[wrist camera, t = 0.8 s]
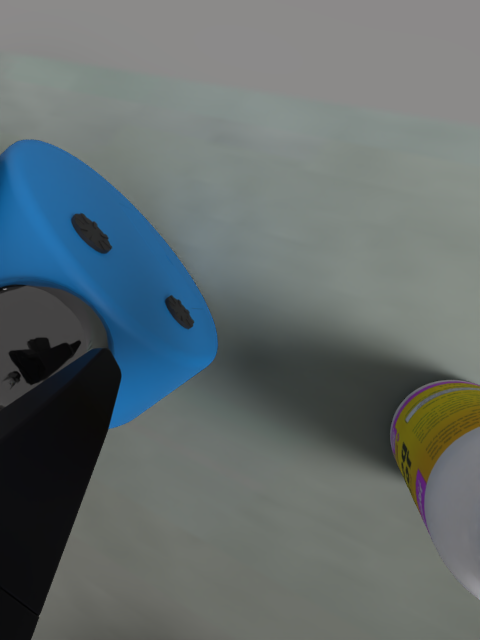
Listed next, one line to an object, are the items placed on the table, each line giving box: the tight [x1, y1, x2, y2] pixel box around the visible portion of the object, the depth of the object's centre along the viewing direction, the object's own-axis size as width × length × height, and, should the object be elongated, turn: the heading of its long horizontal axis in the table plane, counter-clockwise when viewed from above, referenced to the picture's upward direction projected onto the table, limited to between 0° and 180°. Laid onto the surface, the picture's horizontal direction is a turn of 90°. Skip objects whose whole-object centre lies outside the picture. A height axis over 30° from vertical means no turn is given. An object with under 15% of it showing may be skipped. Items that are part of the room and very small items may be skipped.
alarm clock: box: [0, 140, 218, 429], centre depth 19 cm, size 13×6×15 cm, turn 35°
